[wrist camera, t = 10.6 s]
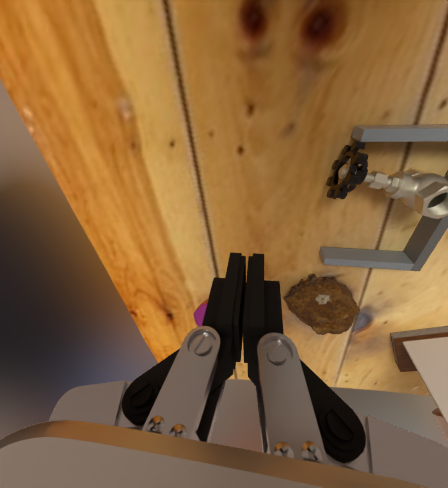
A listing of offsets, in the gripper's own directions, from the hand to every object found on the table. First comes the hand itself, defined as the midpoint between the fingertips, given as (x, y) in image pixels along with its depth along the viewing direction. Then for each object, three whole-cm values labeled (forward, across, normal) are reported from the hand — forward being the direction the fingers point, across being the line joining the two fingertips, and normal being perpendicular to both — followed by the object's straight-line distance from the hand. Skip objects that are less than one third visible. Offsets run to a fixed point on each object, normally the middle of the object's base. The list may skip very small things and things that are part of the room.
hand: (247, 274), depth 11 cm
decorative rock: (+22, -13, +27) cm, 37 cm away
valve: (+22, -15, +3) cm, 27 cm away
